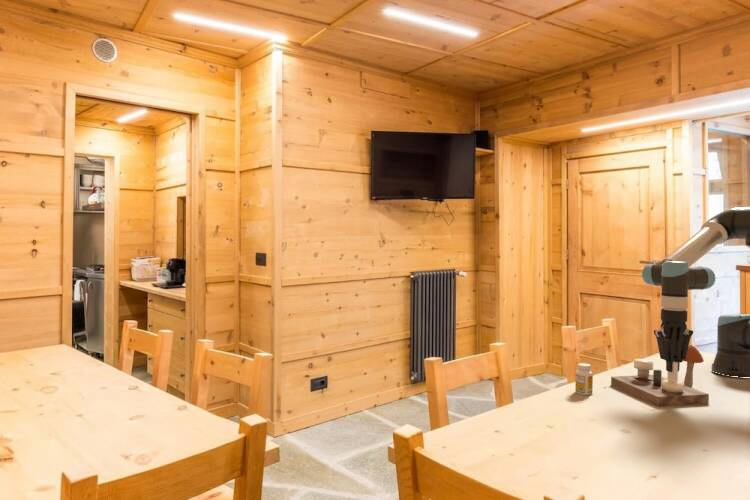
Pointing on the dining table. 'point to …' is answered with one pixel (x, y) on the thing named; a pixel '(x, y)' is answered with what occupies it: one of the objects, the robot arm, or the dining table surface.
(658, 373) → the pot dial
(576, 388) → the supplement bottle
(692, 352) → the mushroom
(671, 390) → the knob
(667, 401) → the console
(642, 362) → the knob
